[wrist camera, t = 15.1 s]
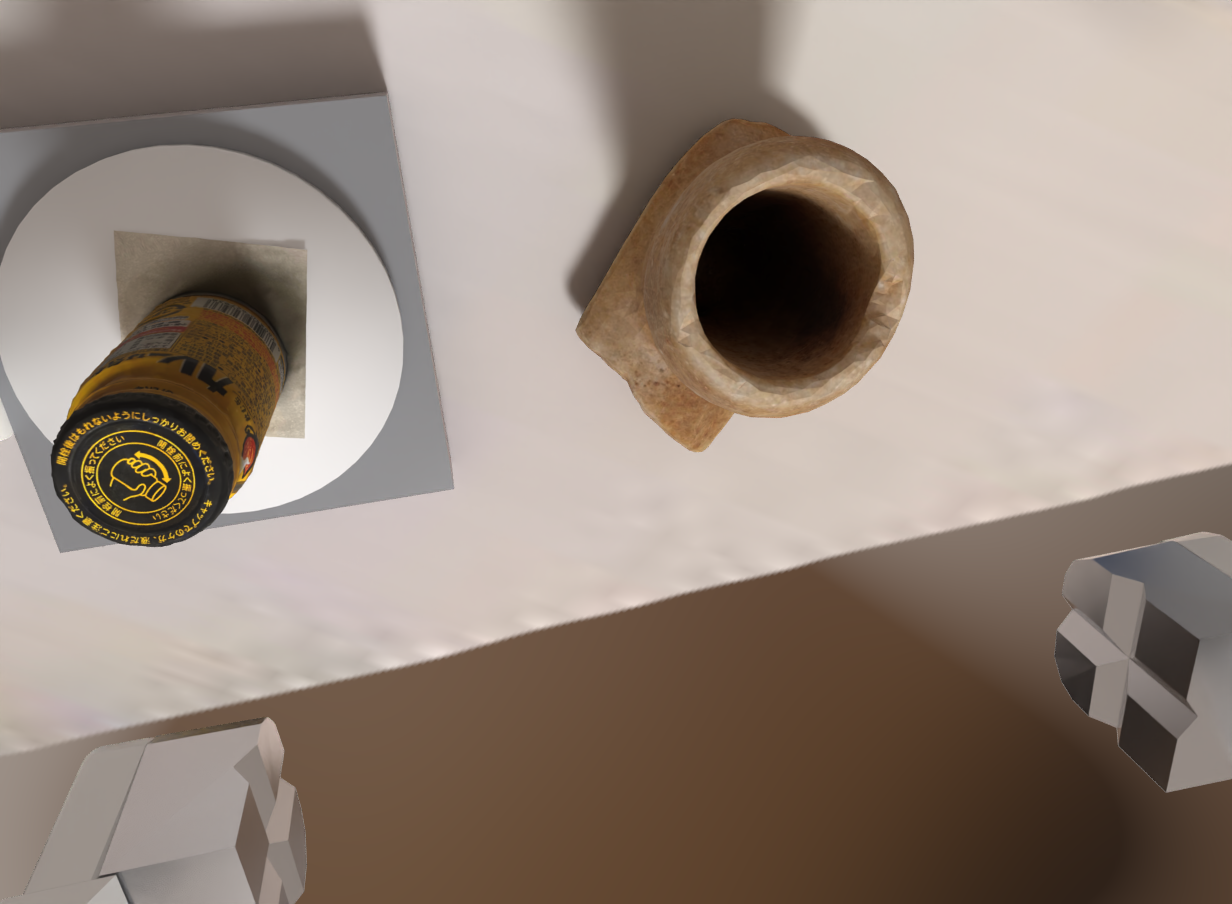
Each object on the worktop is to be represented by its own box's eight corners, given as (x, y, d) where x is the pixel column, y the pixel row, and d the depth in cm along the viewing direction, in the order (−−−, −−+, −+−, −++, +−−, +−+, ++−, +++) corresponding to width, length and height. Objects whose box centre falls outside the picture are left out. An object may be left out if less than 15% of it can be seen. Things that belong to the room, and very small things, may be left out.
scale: (-96, 138, 37) (-183, 155, 32) (387, 91, 40) (384, 100, 35) (54, 526, 45) (5, 595, 40) (451, 463, 48) (457, 519, 42)
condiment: (127, 427, 40) (25, 571, 29) (114, 229, 37) (-6, 309, 26) (305, 436, 42) (271, 575, 31) (308, 248, 38) (271, 329, 28)
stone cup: (688, 55, 42) (819, 62, 29) (868, 203, 47) (1053, 269, 34) (506, 327, 46) (549, 447, 32) (691, 441, 50) (795, 587, 37)
